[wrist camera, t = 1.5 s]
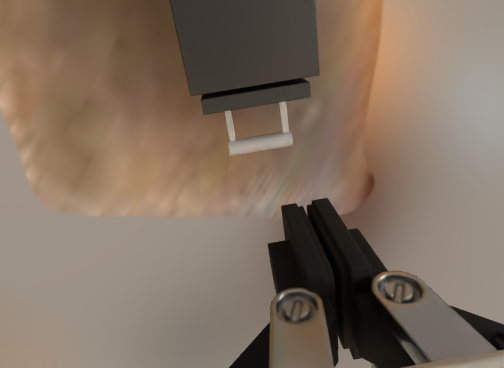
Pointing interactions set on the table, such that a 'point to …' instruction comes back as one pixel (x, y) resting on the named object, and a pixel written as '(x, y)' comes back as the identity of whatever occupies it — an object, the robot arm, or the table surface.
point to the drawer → (256, 98)
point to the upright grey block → (245, 42)
